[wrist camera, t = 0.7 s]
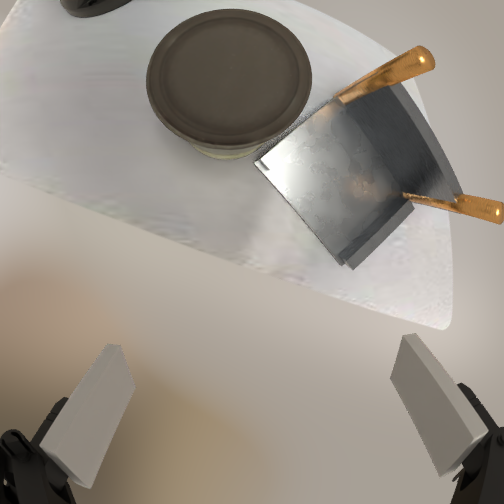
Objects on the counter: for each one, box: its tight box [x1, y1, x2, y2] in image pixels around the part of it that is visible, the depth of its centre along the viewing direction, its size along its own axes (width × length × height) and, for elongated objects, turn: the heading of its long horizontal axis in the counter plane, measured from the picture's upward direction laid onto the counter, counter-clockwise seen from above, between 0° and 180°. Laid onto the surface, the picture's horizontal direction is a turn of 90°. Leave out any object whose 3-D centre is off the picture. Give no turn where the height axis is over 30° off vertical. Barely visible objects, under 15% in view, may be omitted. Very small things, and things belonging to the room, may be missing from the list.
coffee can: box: [146, 9, 312, 160], centre depth 21 cm, size 10×10×14 cm
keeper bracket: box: [254, 46, 504, 270], centre depth 23 cm, size 16×14×16 cm
